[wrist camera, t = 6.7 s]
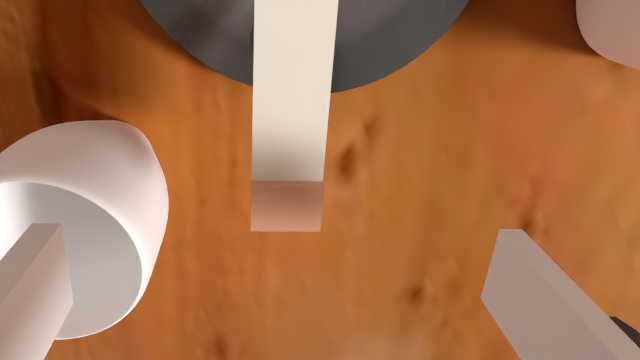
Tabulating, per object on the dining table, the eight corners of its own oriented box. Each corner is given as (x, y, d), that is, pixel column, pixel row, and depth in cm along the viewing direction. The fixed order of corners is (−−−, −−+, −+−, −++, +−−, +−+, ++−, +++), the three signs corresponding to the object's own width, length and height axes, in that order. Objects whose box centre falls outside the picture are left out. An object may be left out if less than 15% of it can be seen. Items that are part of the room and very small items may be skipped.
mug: (188, 94, 28) (146, 184, 18) (185, 215, 32) (149, 345, 22) (-37, 71, 26) (-223, 156, 16) (-12, 201, 30) (-152, 338, 20)
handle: (255, -26, 23) (254, -11, 15) (312, -21, 23) (341, -5, 16) (252, 147, 27) (250, 231, 19) (302, 148, 27) (320, 231, 19)
